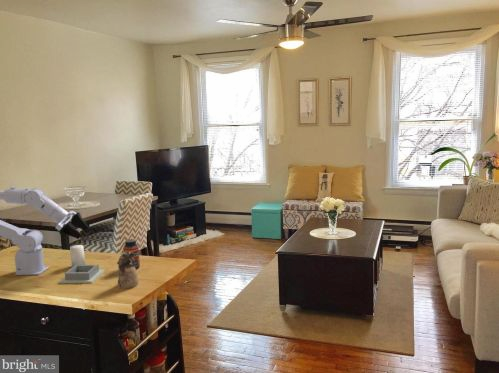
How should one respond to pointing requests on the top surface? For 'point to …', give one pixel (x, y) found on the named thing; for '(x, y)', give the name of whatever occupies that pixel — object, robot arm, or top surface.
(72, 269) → the cup holder
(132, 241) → the supplement bottle
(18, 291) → the top surface
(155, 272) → the top surface
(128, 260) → the figurine
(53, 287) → the top surface
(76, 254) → the cream white egg
